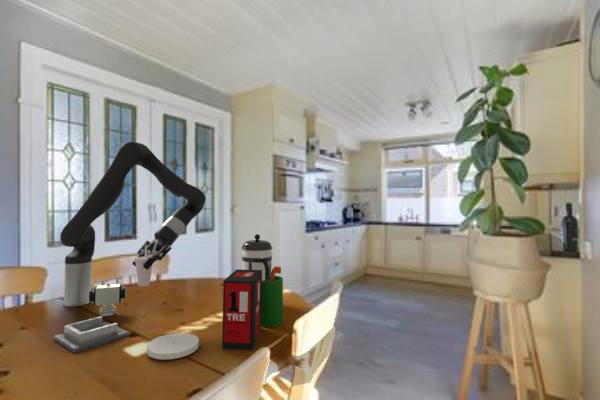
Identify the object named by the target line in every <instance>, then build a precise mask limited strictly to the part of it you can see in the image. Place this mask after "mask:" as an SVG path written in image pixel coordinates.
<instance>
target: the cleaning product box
mask: <svg viewBox="0 0 600 400" xmlns="http://www.w3.org/2000/svg"><path fill="white" fill-rule="evenodd" d="M222 286H223V288H222V290H223V292H222V294H223V295H222V298H223V299H222V339H221V340H222V341H221V348H222V350H237V351H253V349H254V348H255V345H256V343H257V339H258V337H259V335H260V332H261V330H262V327H261V304H262V270H242V269H235V270H234V271H233V272H232V273H230V274H229V275H228V276H227V277H226V278H225V279H224V280H223V285H222ZM260 329H261V330H260Z"/></svg>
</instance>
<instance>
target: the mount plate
mask: <svg viewBox="0 0 600 400" xmlns="http://www.w3.org/2000/svg"><path fill="white" fill-rule="evenodd" d="M126 337H129V331H127V330H126V329H123V328H121V327H119V326H118V323H117V322H113V323H109V322H108V321H104V322H103V317H102V316H101V315H100V316H96V317H94V318H93V317H92V318H88V319H85V320H81V321H77V322H74V323H70V324H69V323H68V324H66V325H64V330H63V333H59V334H56V335H54V336H53V340H54V341H55V342H56V343H58V344H60V345H61V346H63V347H64V348H65V349H67V350H69V351H70V352H72V353H74V354H77V353H80V352H82V351H86V350H89V349H92V348H95V347H98V346H102V345H104V344H107V343H110V342H113V341H116V340H120V339H123V338H126Z"/></svg>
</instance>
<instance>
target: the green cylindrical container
mask: <svg viewBox="0 0 600 400" xmlns="http://www.w3.org/2000/svg"><path fill="white" fill-rule="evenodd" d="M276 274H282V267H281V266H274V267H273V268H271V276H267V280H264V281H262V304H261V326H266V327H265V328H270V327H269V326H274V327H276V325H278V326H280V325H282V324H283V323H282V322H284V287H283V286H284V283H283V282H284V280H283V279H284V278H283V277H282V276H281V275H276ZM281 323H282V324H281ZM279 324H280V325H279Z"/></svg>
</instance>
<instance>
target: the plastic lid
mask: <svg viewBox="0 0 600 400" xmlns="http://www.w3.org/2000/svg"><path fill="white" fill-rule="evenodd" d="M199 346H200V337H198V335H195V334H193V333H187V332H178V333H171V334H170V333H169V334H164V335H161V336H158V337H156V338H154V339H152V340H151V341H149V342H148V343H147V345H146V354H147V356H148V357H150V358H152V359H155V360H174V359H175V360H176V359H179V358H184V357H186V356H189V355H191V354H193V353H195V352H196V351H197V350H198V349H199V348H200V347H199Z"/></svg>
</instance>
